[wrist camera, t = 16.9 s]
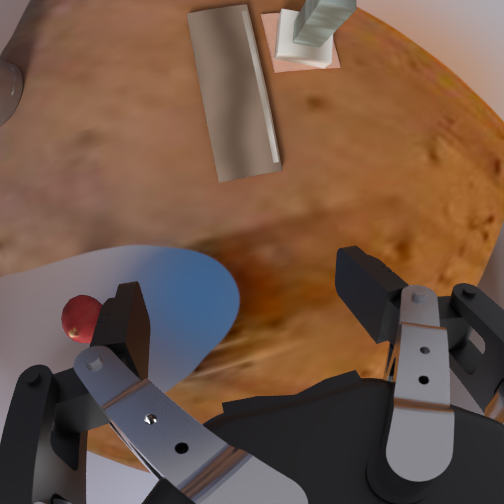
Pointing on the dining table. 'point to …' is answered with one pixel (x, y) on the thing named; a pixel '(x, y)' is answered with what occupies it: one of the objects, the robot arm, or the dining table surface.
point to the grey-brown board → (233, 93)
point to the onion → (80, 318)
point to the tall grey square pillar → (311, 31)
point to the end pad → (270, 32)
